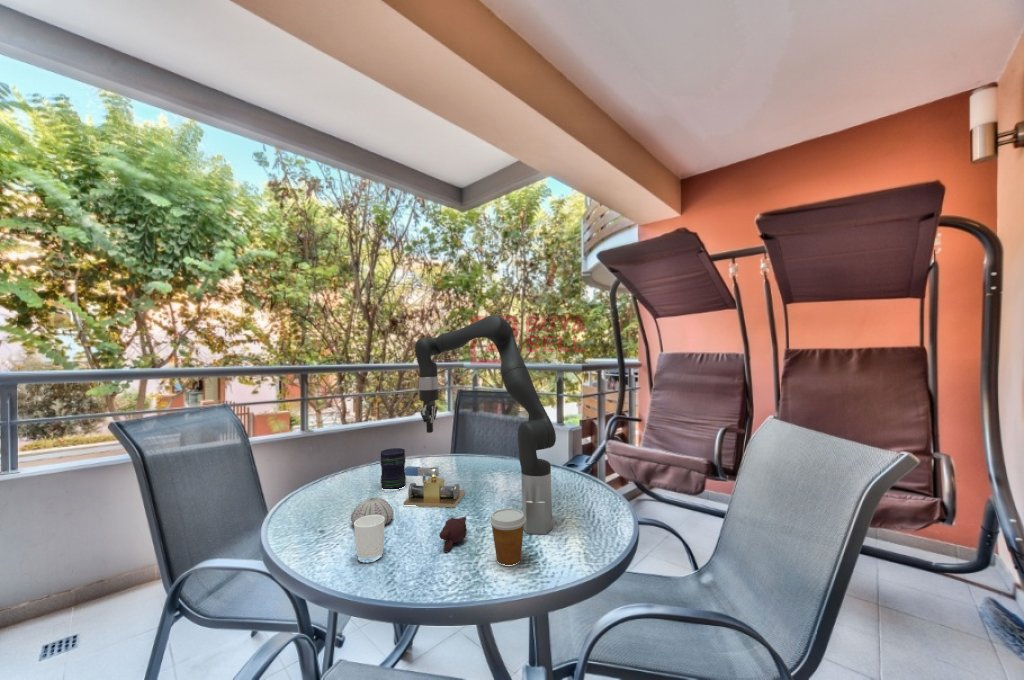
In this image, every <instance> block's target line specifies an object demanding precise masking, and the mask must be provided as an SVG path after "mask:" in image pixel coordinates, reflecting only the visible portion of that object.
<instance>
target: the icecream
mask: <svg viewBox="0 0 1024 680" xmlns="http://www.w3.org/2000/svg"><path fill="white" fill-rule="evenodd" d="M466 522H467V516H463V517H460V518H456V517H455V518H454V517H450V518H449V519H447V520H446V521H445V523H444V526H443V527H442V529H441V530H440V533H439V535H438V536H439V538H440V539H441V540H443V541H445V544H444V546H443V551H444V552H445V551H448V550H449V551H451V549H452V546H453V544H457V543H459V542H461V540H462V539H464V538H466V536H467V531H468V530H467V524H466ZM449 551H448V552H449Z"/></svg>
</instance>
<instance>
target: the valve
mask: <svg viewBox="0 0 1024 680" xmlns="http://www.w3.org/2000/svg"><path fill="white" fill-rule="evenodd" d="M422 484H423V485H420V484H419V485H417V483H416V482H412V483H409V486H408V489H407V490H408V491H407V492H408V493H407V499H405V501H403V506H404V505H416V506H430V507H429V508H432V507H451V508H450V509H455V508H456V507H457V506H458V504H459V503H460V502H461V500H462V499H463V497H464V496H465V493H466V490H465V489H461V488H460V487H461V486H460V484H459V483H455V484H454V486H453V485H451V486H450V485H445V478H443V477H442V478H441V477H437V476H436V477H428V478H427V479H426V476H425V474H423V476H422ZM463 495H464V496H463ZM461 498H462V499H461ZM460 499H461V500H460ZM458 502H459V503H458ZM456 505H457V506H456ZM455 506H456V507H455ZM452 507H453V508H452Z"/></svg>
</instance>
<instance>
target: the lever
mask: <svg viewBox="0 0 1024 680" xmlns="http://www.w3.org/2000/svg"><path fill="white" fill-rule="evenodd" d="M439 472H440V469H439V467H437V466H434V467H433V466H432V467H427V466H426V467H425V466H424V467H421V466H413V465H411V466H405V476H406V477H408V476H409V477H419V476H420V477H421V476H422V477H423V474H425V477H429V478H431V477H436V478H437V477H439V475H440V473H439Z"/></svg>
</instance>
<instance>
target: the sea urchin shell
mask: <svg viewBox="0 0 1024 680" xmlns="http://www.w3.org/2000/svg"><path fill="white" fill-rule="evenodd" d="M394 512H395V511H394V509H393V506H391V504H390V503H389V501H387V500H385V499H384V498H382V497H380V496H379V497H378V496H377V497H376V496H375V497H368V498H366V499H365V500H363V501H361V502H360V503H358V504H357V506H355V508H354V509H353V511H352V512H351V514H350V521H351V523H352V524H353V525H354V522H355V521H356V520H357V519H359V518H361V517H364V516H368V515H381V516H383V517H384V518H385V523H384V526H386V525H387V524H389V523H390V522H392V520H393V517H394V514H395V513H394ZM391 519H392V520H391ZM388 522H389V523H388ZM386 523H387V524H386Z"/></svg>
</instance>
